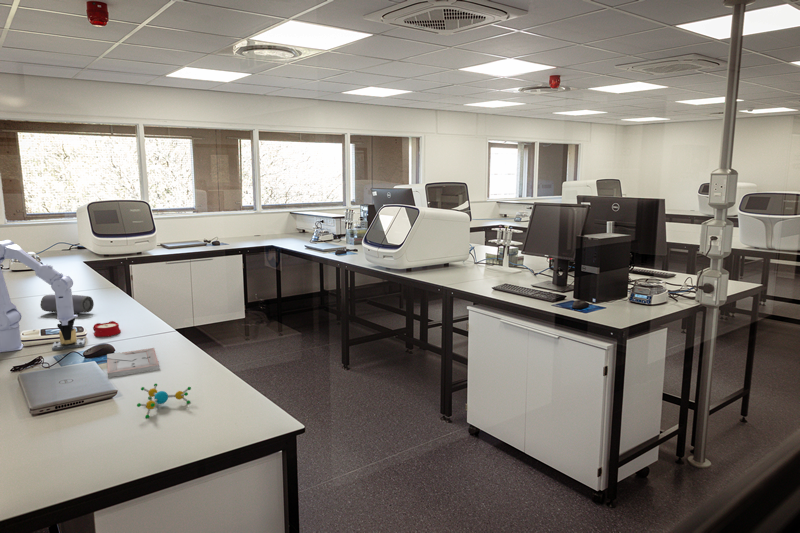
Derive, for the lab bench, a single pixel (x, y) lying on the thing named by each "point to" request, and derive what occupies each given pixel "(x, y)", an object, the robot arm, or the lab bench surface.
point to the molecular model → (161, 397)
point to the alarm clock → (106, 329)
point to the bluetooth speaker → (79, 304)
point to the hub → (73, 339)
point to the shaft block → (68, 345)
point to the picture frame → (131, 362)
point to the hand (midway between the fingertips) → (68, 337)
